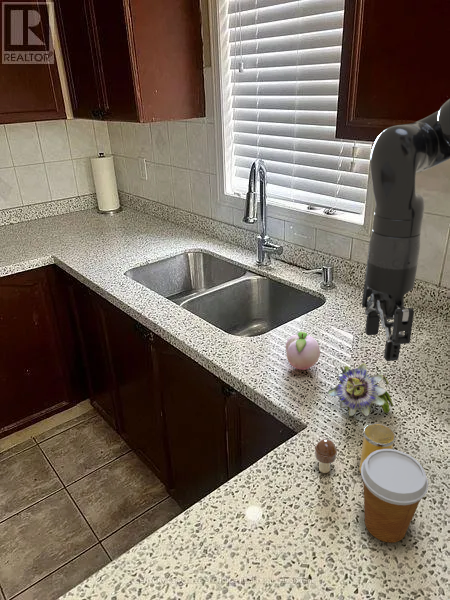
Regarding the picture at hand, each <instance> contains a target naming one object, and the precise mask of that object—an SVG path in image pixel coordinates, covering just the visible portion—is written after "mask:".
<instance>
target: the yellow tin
mask: <svg viewBox="0 0 450 600" xmlns="http://www.w3.org/2000/svg"><path fill="white" fill-rule="evenodd" d="M395 440H396V434H395V431H394V430H392V428H390V427H389V426H387V425H385V424H382V423H369V424H367V425H366V426H365V427H364V429H363V438H362V444H361V453H360V460H359V469H358V471H359V474H361V466H362V463H363V462H364V460H365V459H366V458H367V457H368V456H369V455H370V454H371V453H372V452H374V451H376V450H380V449H393V448H394V444H395ZM393 450H394V449H393Z"/></svg>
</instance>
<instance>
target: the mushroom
mask: <svg viewBox="0 0 450 600" xmlns="http://www.w3.org/2000/svg"><path fill="white" fill-rule="evenodd" d="M337 454H338V449H337V447H336V446H335V443H334V442H333V441H332V440H330V439H328V438H322V439H321V440H319V441H318V442H317V444H316V445H315V447H314V457H315V459H316V460H317V461H318V471H320V472H321V473H323V474H327V473H329V472H330V471H331V464H333V463H334V462H335V461H336V459H337Z"/></svg>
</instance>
